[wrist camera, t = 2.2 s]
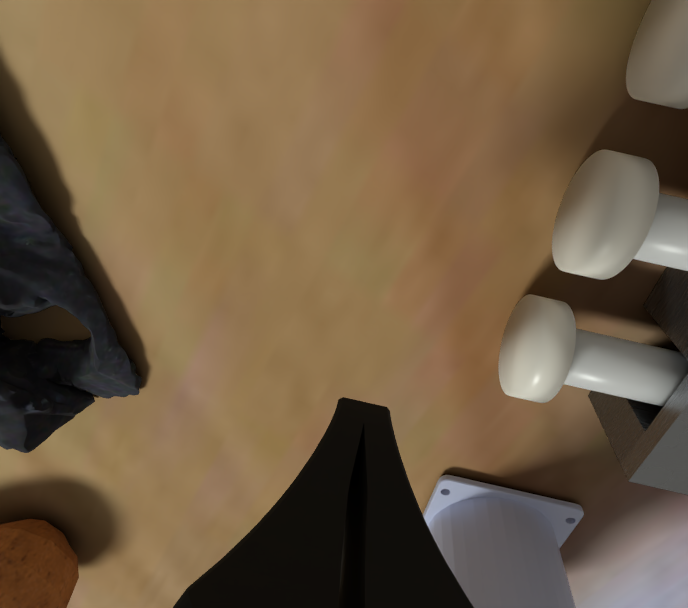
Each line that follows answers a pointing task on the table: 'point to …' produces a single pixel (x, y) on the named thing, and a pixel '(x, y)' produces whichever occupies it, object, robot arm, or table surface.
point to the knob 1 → (580, 358)
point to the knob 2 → (660, 55)
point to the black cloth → (36, 295)
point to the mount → (648, 419)
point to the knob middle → (618, 218)
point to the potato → (35, 566)
